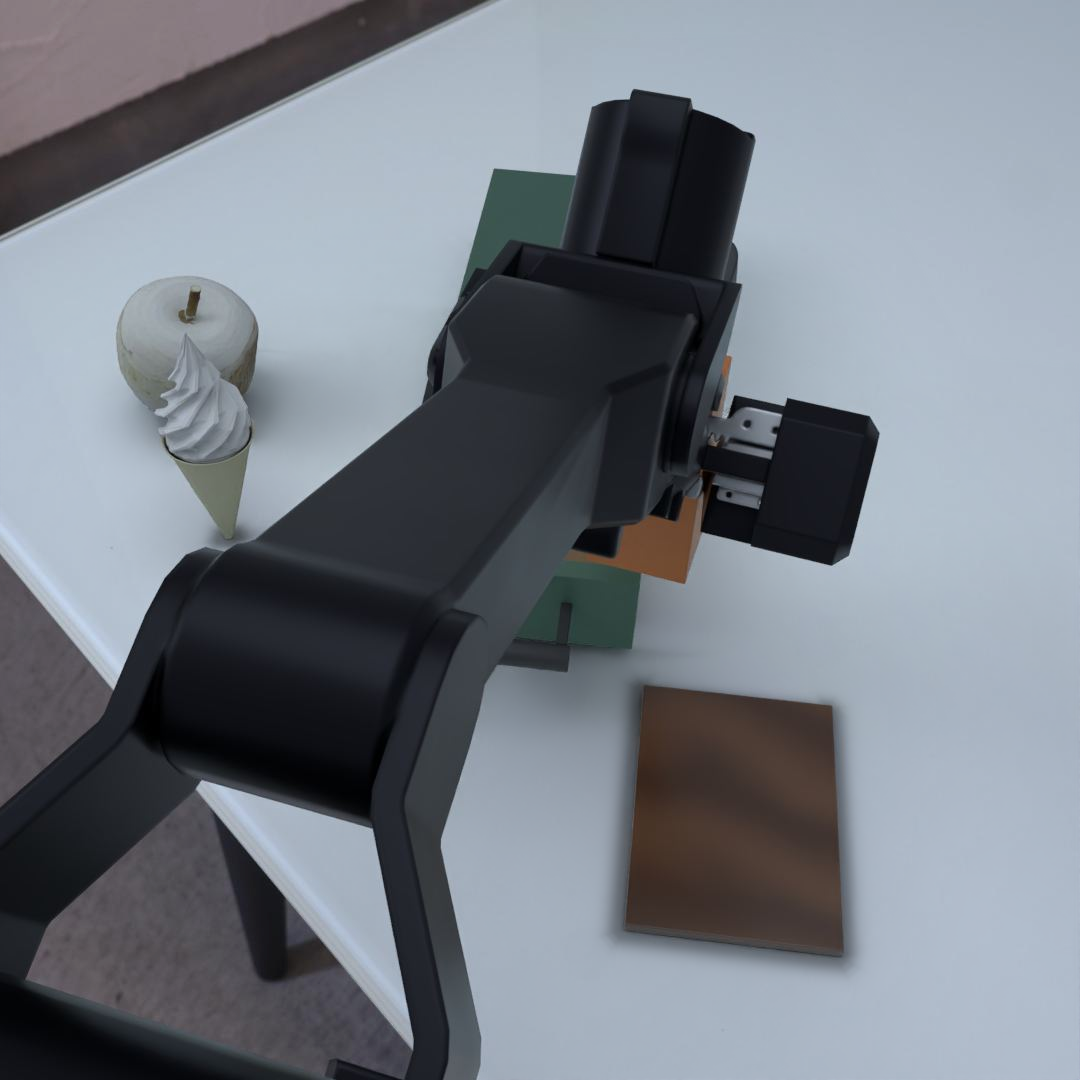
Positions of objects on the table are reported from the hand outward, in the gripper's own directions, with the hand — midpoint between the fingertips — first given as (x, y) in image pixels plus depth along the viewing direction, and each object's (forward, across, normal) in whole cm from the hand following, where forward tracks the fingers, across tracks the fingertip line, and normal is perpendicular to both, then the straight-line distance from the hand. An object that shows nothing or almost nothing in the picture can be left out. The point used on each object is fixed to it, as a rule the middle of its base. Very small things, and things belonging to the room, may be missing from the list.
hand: (661, 459), depth 63 cm
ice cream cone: (+10, +25, +10) cm, 28 cm away
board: (+3, -7, +16) cm, 18 cm away
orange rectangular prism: (+2, 0, +4) cm, 5 cm away
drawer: (+12, +7, +6) cm, 15 cm away
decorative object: (+16, +32, +3) cm, 36 cm away
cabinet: (+27, +12, -8) cm, 30 cm away
